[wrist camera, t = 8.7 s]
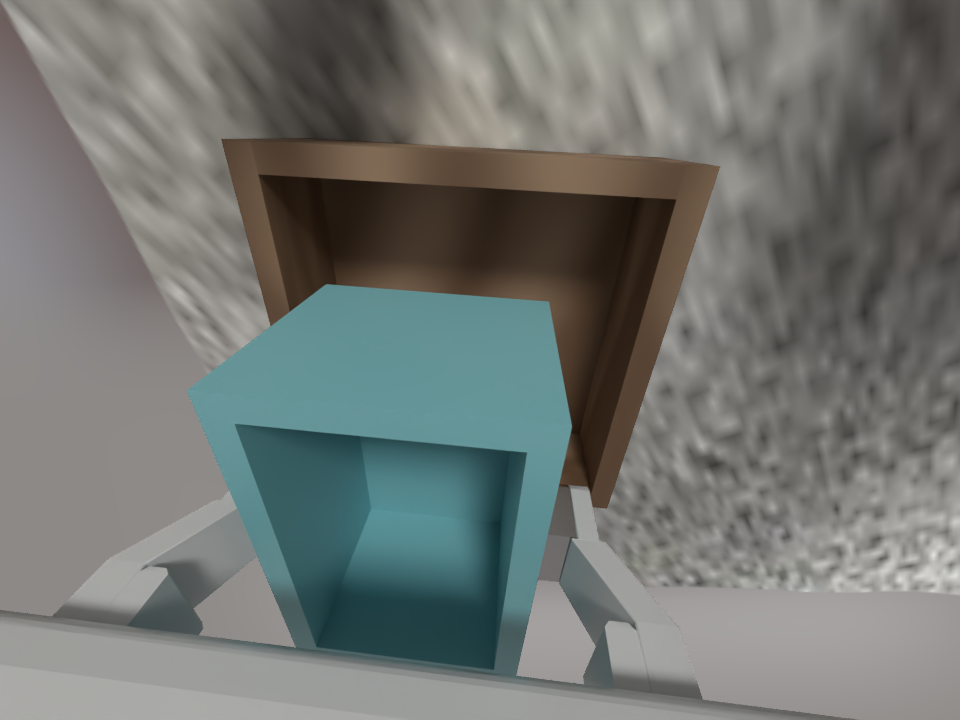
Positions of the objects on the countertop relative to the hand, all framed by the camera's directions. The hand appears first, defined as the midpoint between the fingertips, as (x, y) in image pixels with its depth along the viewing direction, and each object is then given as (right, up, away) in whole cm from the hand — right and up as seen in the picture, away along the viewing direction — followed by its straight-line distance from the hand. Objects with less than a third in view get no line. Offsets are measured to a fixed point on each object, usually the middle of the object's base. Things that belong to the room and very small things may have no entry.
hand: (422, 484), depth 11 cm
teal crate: (0, +1, +2) cm, 2 cm away
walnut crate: (+1, +6, +10) cm, 12 cm away
